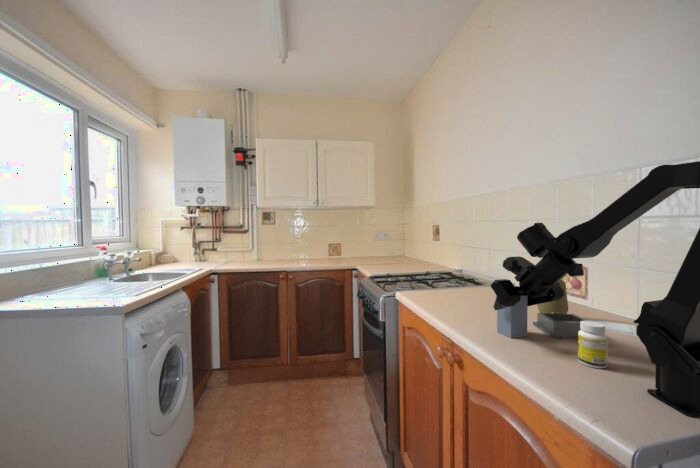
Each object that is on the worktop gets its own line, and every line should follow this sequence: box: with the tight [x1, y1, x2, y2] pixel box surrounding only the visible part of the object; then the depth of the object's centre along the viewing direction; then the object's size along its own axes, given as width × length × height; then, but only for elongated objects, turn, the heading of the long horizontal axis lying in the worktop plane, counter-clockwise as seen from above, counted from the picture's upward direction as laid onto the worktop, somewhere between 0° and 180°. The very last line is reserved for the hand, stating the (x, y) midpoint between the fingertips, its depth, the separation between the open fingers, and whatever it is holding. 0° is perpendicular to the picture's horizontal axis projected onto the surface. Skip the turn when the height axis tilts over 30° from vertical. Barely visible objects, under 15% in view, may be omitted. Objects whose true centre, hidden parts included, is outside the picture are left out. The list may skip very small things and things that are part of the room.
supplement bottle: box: [577, 321, 609, 369], centre depth 61 cm, size 5×5×8 cm
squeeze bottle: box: [537, 279, 569, 314], centre depth 91 cm, size 8×8×18 cm
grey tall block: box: [496, 283, 528, 339], centre depth 78 cm, size 4×6×13 cm
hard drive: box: [580, 316, 639, 338], centre depth 83 cm, size 2×8×12 cm
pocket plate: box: [532, 312, 588, 340], centre depth 80 cm, size 10×11×4 cm
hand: (508, 307), depth 79 cm, fingers open, 9 cm apart
